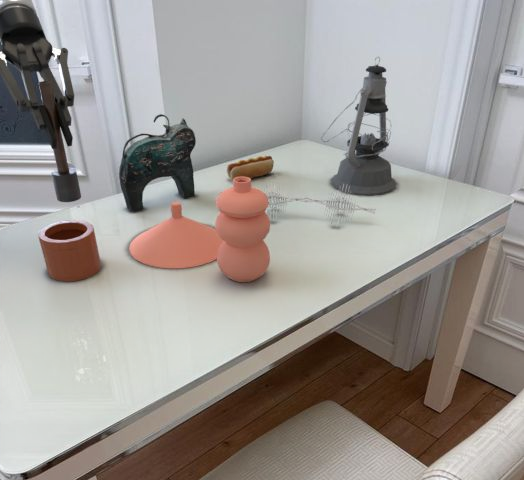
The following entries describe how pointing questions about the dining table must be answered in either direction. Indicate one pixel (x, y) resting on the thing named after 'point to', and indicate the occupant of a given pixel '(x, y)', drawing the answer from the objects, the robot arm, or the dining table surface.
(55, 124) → the pestle
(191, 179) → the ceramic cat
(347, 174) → the lantern
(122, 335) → the dining table surface
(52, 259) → the jar
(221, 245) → the ceramic vessels
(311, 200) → the test tube brush
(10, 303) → the dining table surface
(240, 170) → the food
